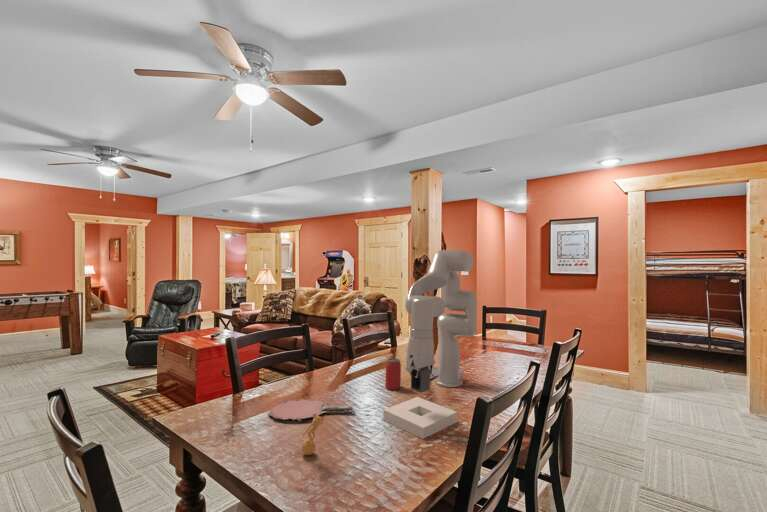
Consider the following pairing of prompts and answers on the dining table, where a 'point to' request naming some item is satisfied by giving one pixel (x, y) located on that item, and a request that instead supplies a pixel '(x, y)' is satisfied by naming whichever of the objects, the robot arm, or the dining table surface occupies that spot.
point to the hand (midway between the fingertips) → (420, 386)
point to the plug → (423, 380)
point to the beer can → (393, 374)
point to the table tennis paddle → (304, 410)
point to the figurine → (309, 444)
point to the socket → (420, 417)
